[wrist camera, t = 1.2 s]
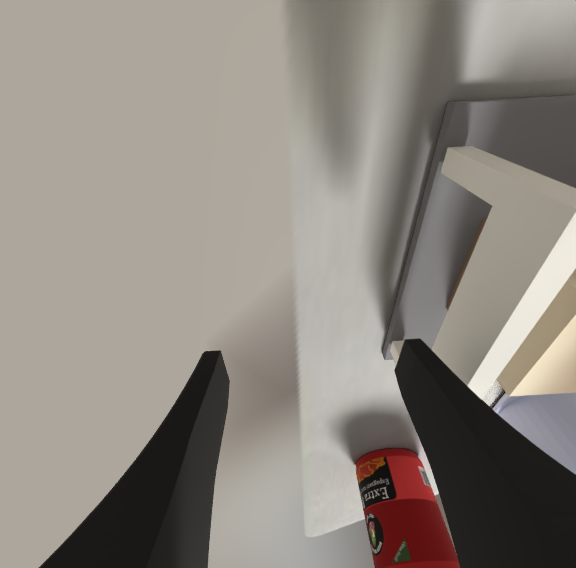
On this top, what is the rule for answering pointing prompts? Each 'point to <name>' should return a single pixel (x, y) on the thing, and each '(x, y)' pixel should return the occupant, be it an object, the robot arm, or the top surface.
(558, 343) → the birch cube
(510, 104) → the rubber mat
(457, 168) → the gate
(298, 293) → the top surface
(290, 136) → the top surface
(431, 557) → the canned food
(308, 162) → the top surface
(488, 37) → the top surface
